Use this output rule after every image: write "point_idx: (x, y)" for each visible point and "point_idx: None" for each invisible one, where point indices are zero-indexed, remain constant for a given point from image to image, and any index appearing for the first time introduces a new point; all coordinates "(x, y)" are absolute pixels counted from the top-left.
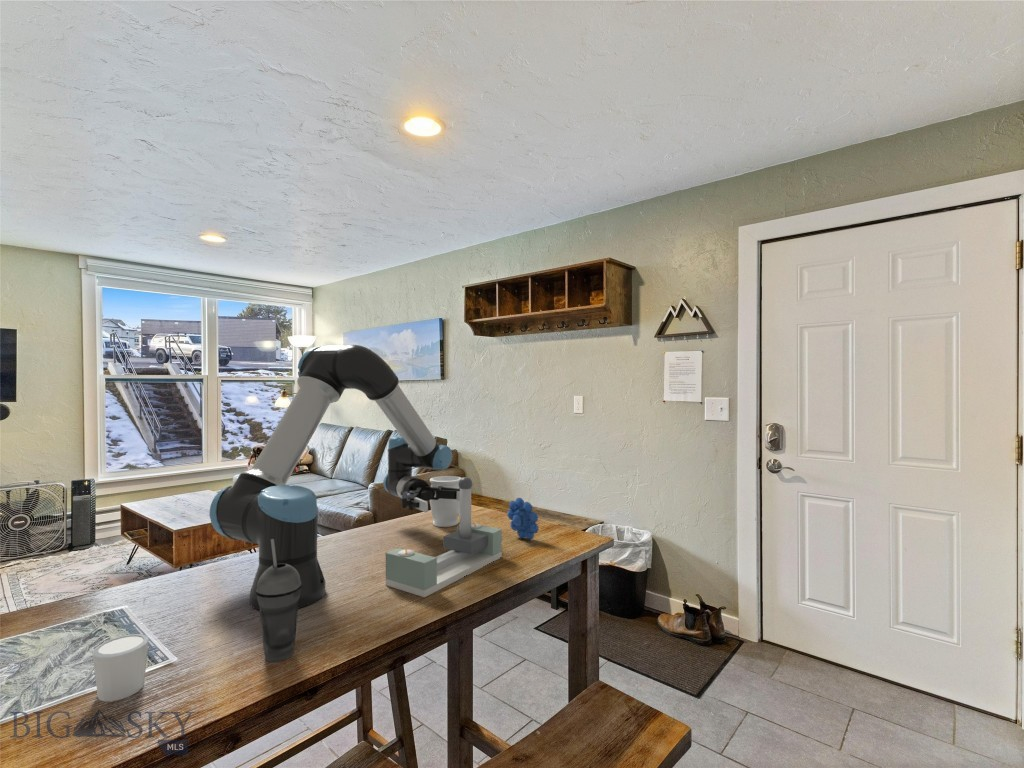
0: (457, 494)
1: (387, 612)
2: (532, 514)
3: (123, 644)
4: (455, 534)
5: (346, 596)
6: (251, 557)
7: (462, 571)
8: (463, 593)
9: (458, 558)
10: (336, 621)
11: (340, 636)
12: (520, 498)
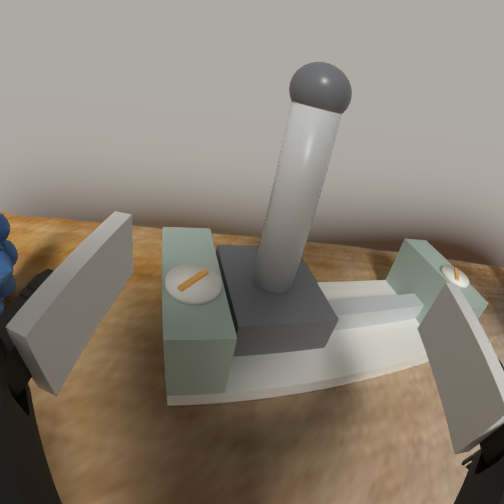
0: (45, 344)
1: None
2: (2, 217)
3: None
4: (291, 306)
5: (497, 353)
6: None
7: (322, 282)
8: (345, 263)
9: None
10: (492, 308)
11: (481, 286)
12: None
